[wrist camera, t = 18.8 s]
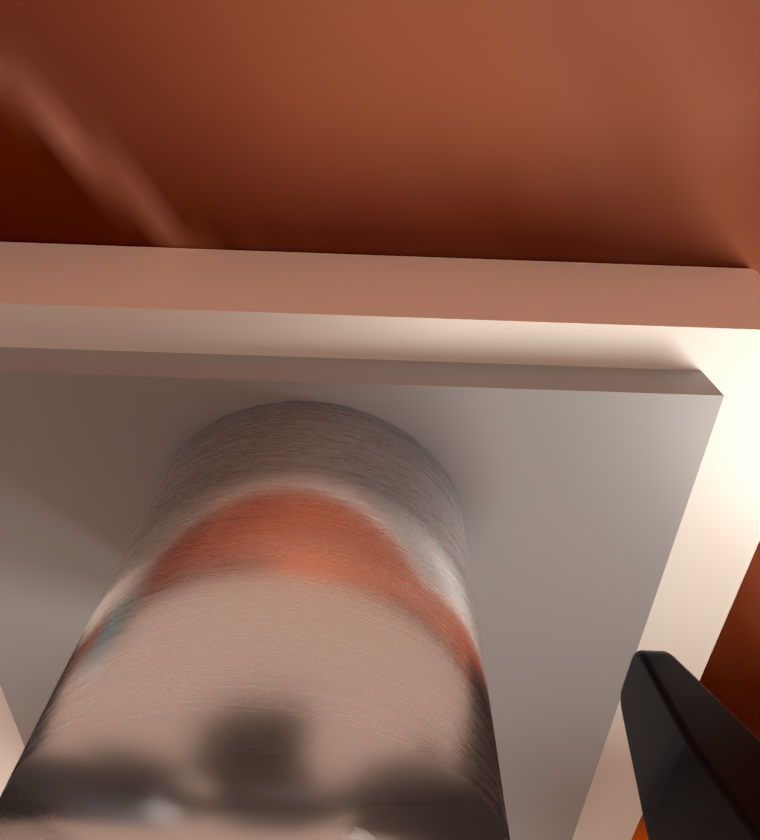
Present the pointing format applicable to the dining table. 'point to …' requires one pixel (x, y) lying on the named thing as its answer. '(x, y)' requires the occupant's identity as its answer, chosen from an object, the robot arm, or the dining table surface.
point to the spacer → (276, 653)
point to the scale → (431, 427)
